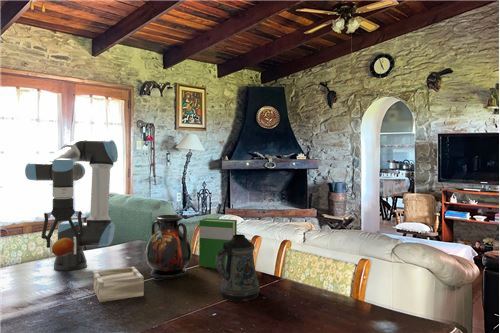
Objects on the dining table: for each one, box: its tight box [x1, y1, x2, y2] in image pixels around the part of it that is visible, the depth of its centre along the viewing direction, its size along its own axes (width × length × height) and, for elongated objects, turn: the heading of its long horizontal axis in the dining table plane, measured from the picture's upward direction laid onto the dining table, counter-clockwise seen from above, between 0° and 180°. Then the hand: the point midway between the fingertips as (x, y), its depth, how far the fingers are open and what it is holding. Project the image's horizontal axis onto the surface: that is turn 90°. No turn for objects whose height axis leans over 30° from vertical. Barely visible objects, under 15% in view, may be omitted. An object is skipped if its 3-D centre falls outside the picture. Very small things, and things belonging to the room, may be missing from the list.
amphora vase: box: [145, 214, 192, 280], centre depth 194 cm, size 22×22×28 cm
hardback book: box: [198, 217, 238, 269], centre depth 209 cm, size 18×7×24 cm, turn 76°
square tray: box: [92, 266, 145, 303], centre depth 169 cm, size 17×17×8 cm
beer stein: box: [216, 233, 261, 302], centre depth 167 cm, size 16×19×25 cm
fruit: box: [52, 238, 74, 257], centre depth 162 cm, size 8×8×8 cm
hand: (63, 254), depth 162 cm, fingers closed on fruit, 8 cm apart
